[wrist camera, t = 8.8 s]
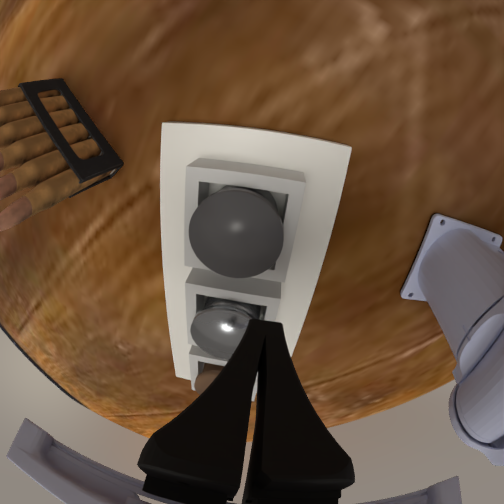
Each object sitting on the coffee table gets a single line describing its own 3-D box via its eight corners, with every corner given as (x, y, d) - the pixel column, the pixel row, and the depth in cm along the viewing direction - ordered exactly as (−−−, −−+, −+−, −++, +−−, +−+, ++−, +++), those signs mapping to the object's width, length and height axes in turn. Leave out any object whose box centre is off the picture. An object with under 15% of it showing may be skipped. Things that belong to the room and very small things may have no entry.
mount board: (347, 144, 16) (362, 154, 13) (277, 386, 30) (275, 412, 27) (169, 121, 16) (144, 126, 13) (178, 368, 30) (170, 393, 27)
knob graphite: (290, 181, 16) (291, 200, 13) (276, 253, 19) (274, 284, 16) (208, 169, 17) (189, 186, 13) (204, 241, 19) (188, 270, 16)
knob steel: (270, 284, 21) (267, 318, 17) (260, 331, 23) (256, 364, 20) (203, 273, 21) (189, 304, 18) (202, 320, 23) (191, 352, 20)
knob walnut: (256, 350, 25) (252, 382, 21) (250, 379, 27) (246, 407, 24) (202, 341, 25) (192, 371, 22) (203, 370, 27) (195, 398, 24)
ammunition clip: (50, 93, 15) (-63, 121, 5) (61, 77, 15) (-57, 97, 4) (111, 178, 19) (-4, 255, 9) (124, 164, 18) (2, 235, 8)
